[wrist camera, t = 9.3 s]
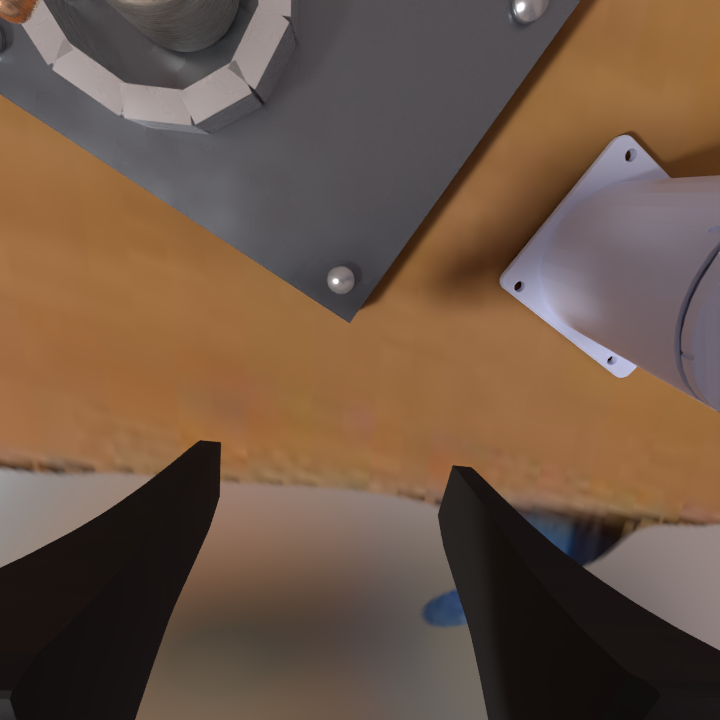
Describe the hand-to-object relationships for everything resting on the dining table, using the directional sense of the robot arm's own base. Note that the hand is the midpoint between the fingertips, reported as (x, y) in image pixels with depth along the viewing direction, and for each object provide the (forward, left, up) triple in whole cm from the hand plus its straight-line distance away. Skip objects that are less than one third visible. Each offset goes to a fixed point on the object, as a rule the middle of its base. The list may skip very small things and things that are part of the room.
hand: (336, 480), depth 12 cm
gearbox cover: (+10, -10, -9) cm, 17 cm away
